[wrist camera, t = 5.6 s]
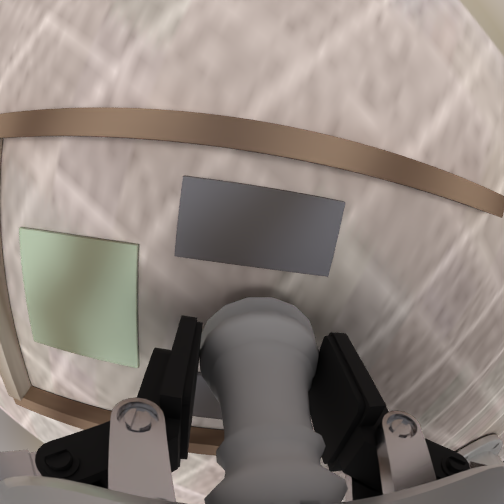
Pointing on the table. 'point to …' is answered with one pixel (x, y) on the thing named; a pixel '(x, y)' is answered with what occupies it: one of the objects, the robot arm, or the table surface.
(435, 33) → the table surface
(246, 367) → the rook chess piece
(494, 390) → the table surface
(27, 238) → the wooden u-shaped frame
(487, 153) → the table surface
